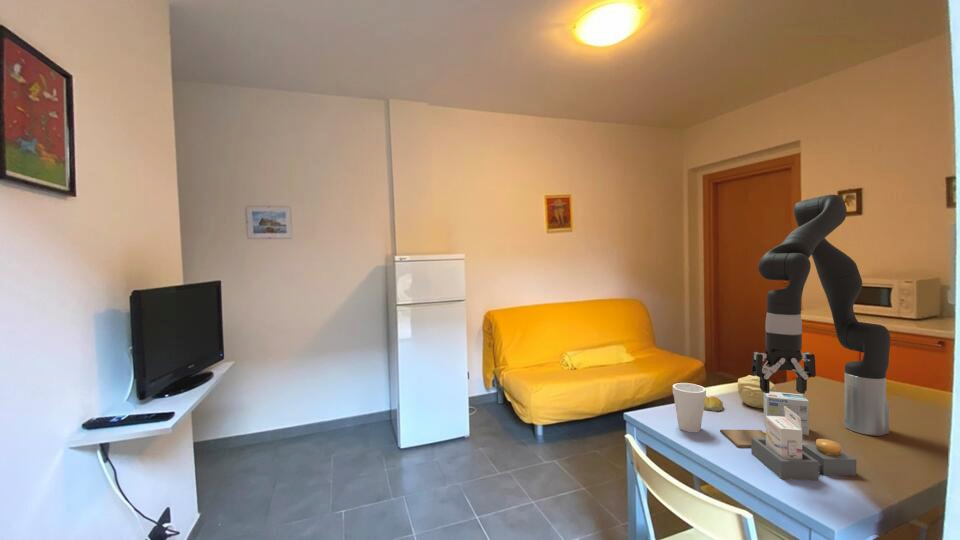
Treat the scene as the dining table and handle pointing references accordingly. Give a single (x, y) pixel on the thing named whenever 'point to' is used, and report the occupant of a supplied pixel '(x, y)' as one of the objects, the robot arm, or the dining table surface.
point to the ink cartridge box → (784, 435)
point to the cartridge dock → (803, 462)
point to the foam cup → (689, 405)
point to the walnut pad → (743, 436)
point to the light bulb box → (794, 402)
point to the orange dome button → (828, 447)
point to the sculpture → (752, 391)
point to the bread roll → (713, 404)
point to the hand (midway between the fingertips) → (782, 392)
